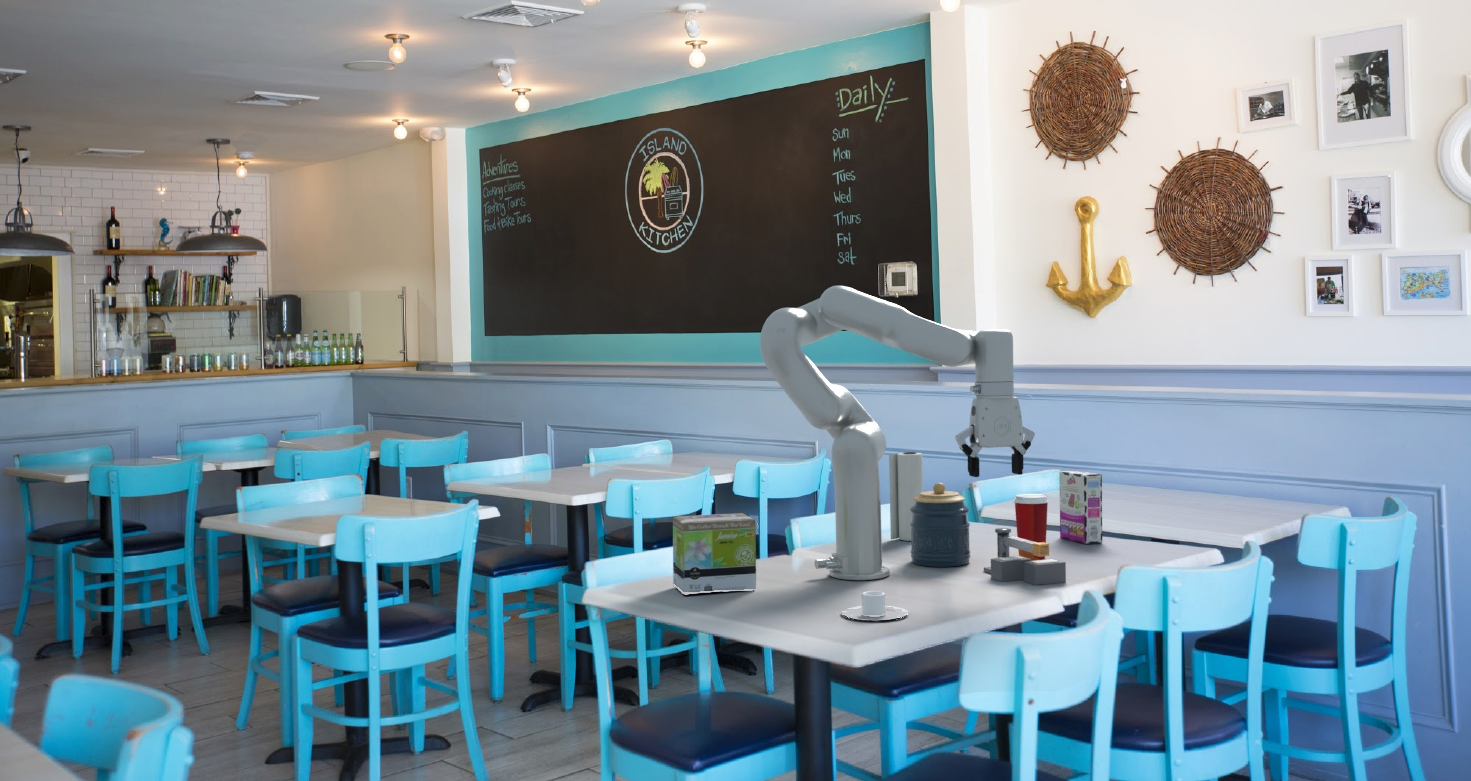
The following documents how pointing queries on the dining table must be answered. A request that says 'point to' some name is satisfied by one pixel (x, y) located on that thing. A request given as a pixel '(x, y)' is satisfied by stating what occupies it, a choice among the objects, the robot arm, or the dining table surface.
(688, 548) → the tea box
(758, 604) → the dining table surface
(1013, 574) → the block
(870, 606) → the candle holder
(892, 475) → the paper towel roll
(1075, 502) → the candy bar box
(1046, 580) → the block
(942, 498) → the canister
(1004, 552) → the pivot post
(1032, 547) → the swing arm
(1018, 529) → the paper cup
